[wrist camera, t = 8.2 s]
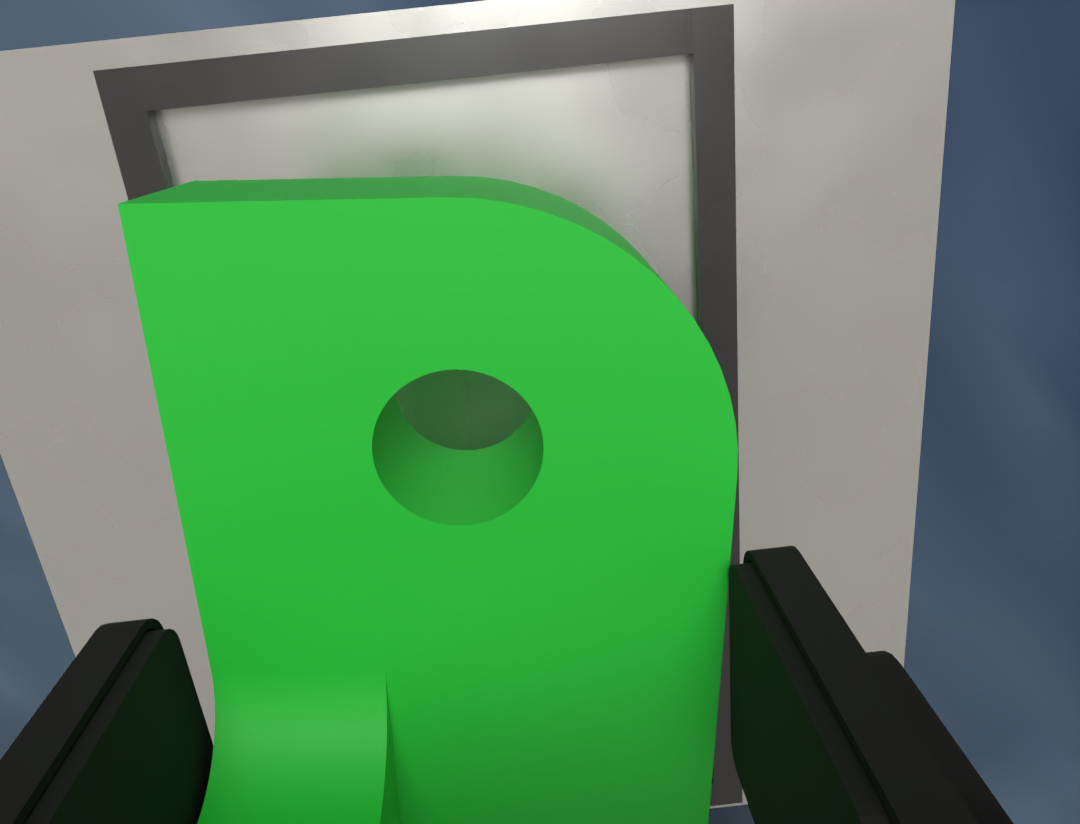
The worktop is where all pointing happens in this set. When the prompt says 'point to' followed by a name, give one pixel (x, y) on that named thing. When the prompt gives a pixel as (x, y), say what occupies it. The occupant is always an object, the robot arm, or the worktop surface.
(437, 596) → the mechanical part
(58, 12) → the worktop surface
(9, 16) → the worktop surface
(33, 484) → the flange
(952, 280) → the worktop surface
